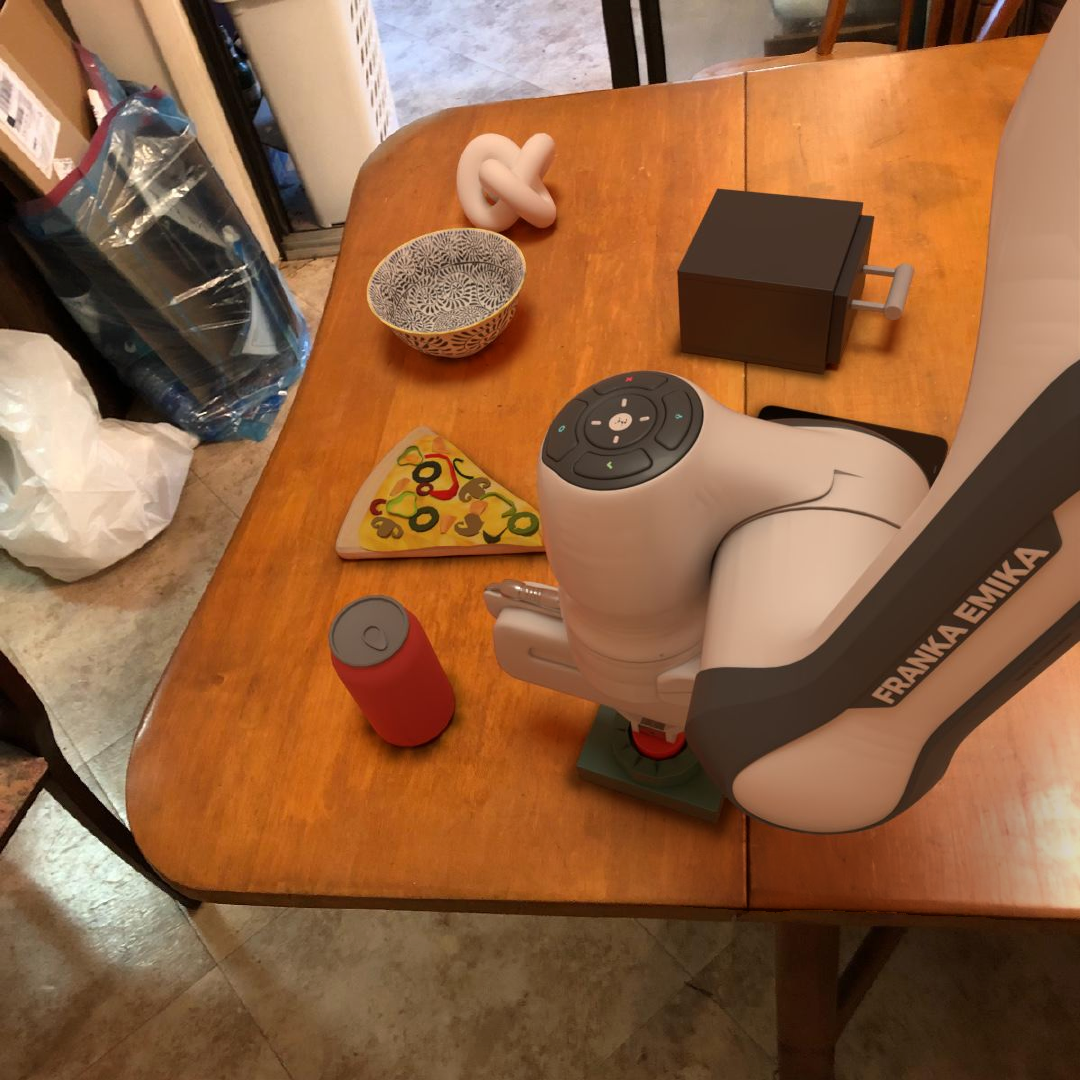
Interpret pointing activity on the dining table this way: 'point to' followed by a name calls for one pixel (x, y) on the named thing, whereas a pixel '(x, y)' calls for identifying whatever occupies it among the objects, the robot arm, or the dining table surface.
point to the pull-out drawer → (852, 287)
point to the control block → (646, 770)
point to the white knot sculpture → (506, 181)
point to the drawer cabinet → (765, 278)
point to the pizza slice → (435, 507)
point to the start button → (658, 746)
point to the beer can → (391, 670)
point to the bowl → (449, 290)
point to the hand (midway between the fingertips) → (657, 727)
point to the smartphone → (918, 445)
